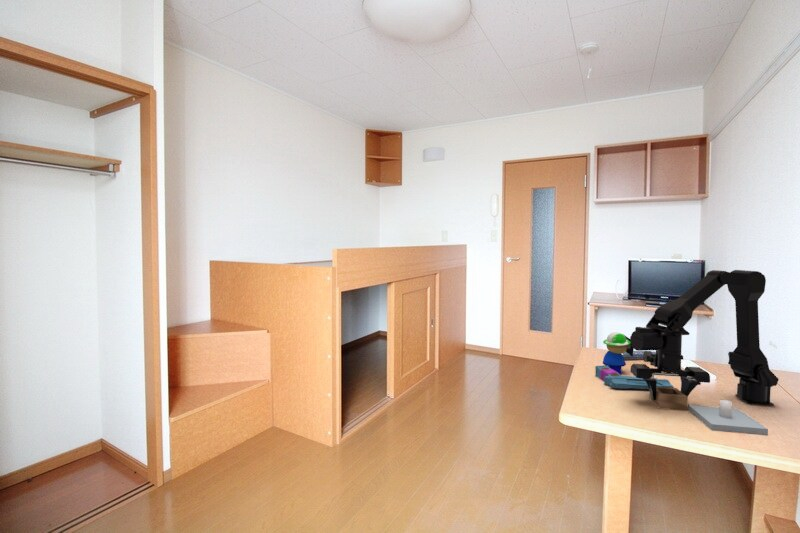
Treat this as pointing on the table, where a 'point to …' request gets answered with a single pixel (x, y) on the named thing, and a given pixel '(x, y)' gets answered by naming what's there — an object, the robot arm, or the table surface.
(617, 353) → the toy
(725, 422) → the peg base
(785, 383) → the table surface
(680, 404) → the collar
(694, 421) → the table surface
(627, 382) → the toy gun
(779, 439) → the table surface
